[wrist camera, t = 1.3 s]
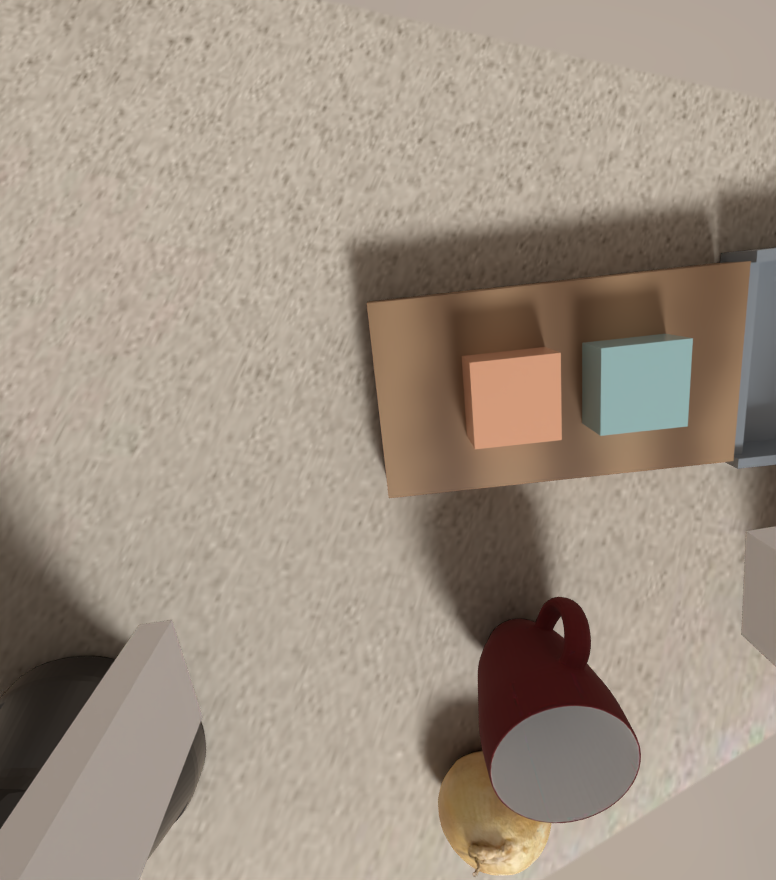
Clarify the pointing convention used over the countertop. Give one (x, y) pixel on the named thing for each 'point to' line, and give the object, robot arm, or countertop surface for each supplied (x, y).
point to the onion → (486, 822)
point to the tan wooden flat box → (564, 330)
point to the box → (757, 363)
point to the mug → (552, 720)
